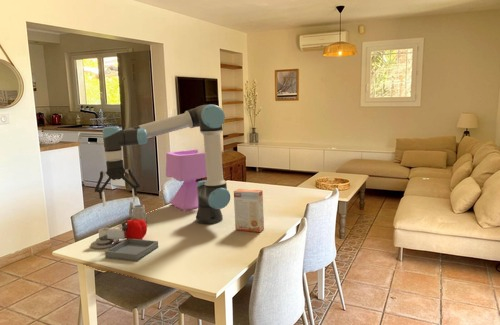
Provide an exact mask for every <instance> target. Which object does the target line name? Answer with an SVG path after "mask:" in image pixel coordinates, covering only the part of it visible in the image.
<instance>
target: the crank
mask: <svg viewBox="0 0 500 325" xmlns="http://www.w3.org/2000/svg"><path fill="white" fill-rule="evenodd" d="M127 221H128V220H124V221H122V222H121V223H120V225H121V228H111V227H110V228H109V227H101V228H98V229H97V230H98V238H99V239H100V240H106V239H119V240H126V238H127V231H126V230H128V228H127Z"/></svg>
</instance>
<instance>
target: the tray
mask: <svg viewBox="0 0 500 325" xmlns="http://www.w3.org/2000/svg"><path fill="white" fill-rule="evenodd" d="M158 248H159V240H147V239H140V240H139V239H124V240H123V241H120V242H119V244H117V245H116V246H114V247H111V248H107V250H105V251H104V254H105V255H104V258H105V259H112V260H120V261H121V260H122V261H127V262H128V261H129V262H139V261H141V260H142V259H143V258H145V257H146V256H148V255H149V254H151V253H152V252H154V251H155V250H156V249H158Z"/></svg>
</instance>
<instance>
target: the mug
mask: <svg viewBox="0 0 500 325" xmlns="http://www.w3.org/2000/svg"><path fill="white" fill-rule="evenodd" d="M145 208H146V207H145V205H144V204H136V205H134V203H133V200H132V201H129V208H128V210H129V211H128V214H129V215H128V216H129V218H130V219H134V218H135V219H136V218H137V219H142V220H144V221H145V222H146V223H147V220H148V219H147V215H146V209H145Z"/></svg>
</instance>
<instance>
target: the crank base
mask: <svg viewBox="0 0 500 325" xmlns="http://www.w3.org/2000/svg"><path fill="white" fill-rule="evenodd" d="M119 243H121V241H120V239H106V240H100V239H99V237H98V238H96V239H95V240H94V241H92V243H91V244H90V247H91V249H93V250H105V249H110V248H112V247H114V246H116V245H117V244H119Z"/></svg>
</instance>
